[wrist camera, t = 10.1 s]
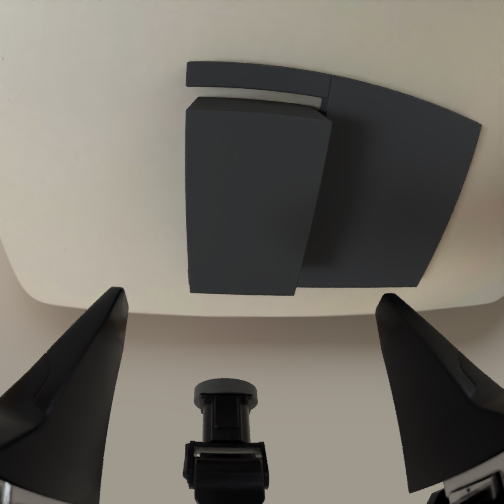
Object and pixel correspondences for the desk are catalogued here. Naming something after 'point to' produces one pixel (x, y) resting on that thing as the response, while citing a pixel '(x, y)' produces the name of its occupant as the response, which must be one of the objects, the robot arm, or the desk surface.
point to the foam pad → (251, 192)
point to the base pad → (369, 174)
